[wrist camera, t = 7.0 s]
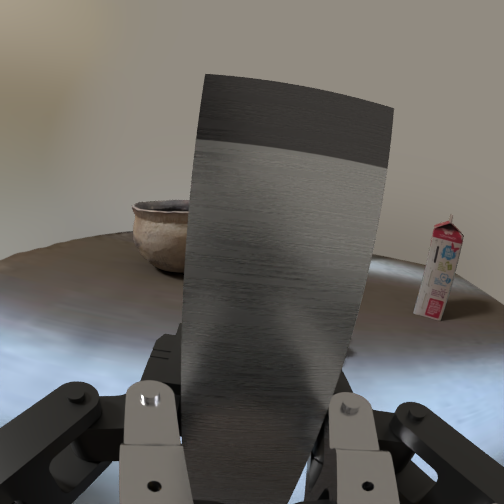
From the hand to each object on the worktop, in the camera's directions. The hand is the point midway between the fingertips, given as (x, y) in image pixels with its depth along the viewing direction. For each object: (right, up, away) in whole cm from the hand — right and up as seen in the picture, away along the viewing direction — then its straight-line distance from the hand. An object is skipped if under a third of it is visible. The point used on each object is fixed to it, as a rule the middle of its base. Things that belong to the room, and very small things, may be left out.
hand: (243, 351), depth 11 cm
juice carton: (+39, -10, +50) cm, 65 cm away
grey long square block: (-1, -10, 0) cm, 10 cm away
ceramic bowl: (-18, 0, +63) cm, 65 cm away
